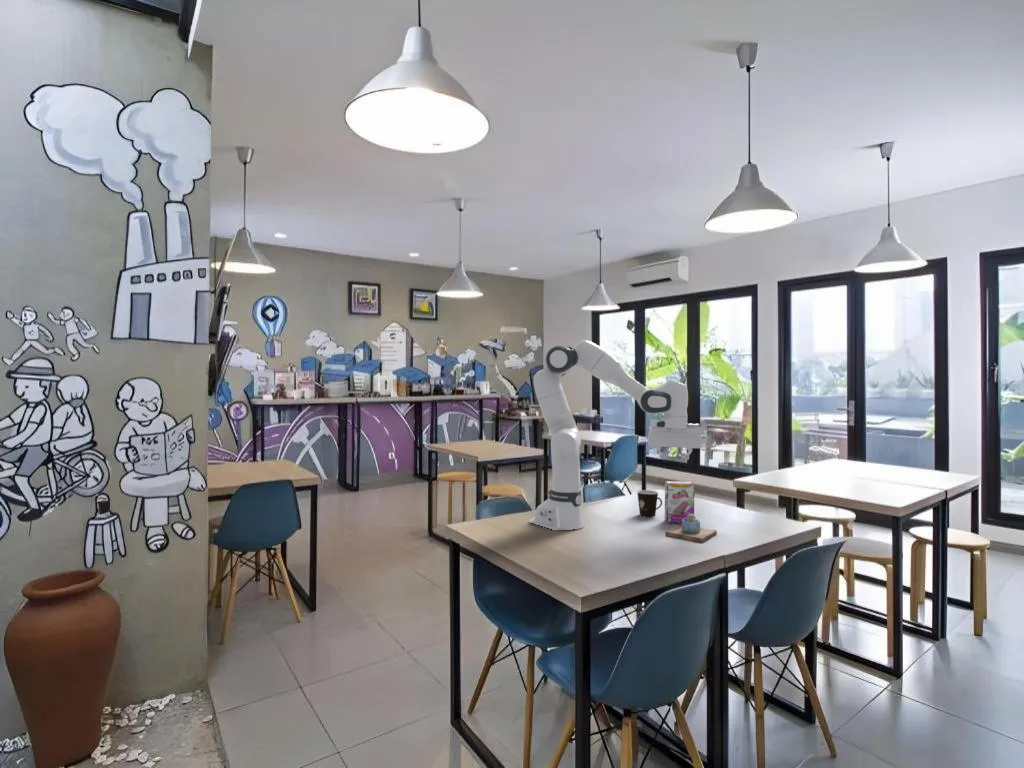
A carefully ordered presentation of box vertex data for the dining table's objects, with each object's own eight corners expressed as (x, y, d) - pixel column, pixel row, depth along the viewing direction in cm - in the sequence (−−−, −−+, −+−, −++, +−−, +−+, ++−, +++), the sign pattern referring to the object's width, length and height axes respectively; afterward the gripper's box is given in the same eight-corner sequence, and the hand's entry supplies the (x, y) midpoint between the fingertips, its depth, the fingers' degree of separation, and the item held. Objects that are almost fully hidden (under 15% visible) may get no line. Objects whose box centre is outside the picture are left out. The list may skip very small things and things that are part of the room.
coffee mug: (634, 513, 235) (634, 490, 235) (653, 512, 236) (653, 490, 236) (643, 519, 223) (643, 495, 223) (663, 519, 224) (663, 495, 224)
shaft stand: (665, 535, 201) (665, 514, 200) (680, 527, 211) (680, 507, 211) (702, 542, 191) (702, 520, 191) (716, 534, 202) (716, 513, 202)
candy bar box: (666, 523, 218) (666, 483, 218) (664, 520, 223) (664, 480, 223) (694, 524, 217) (694, 483, 217) (691, 521, 222) (692, 481, 222)
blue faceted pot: (684, 532, 199) (684, 522, 199) (681, 528, 205) (681, 518, 205) (701, 533, 198) (701, 522, 198) (697, 529, 204) (697, 518, 204)
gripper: (701, 423, 209) (699, 459, 209) (647, 421, 211) (646, 456, 211) (705, 425, 203) (703, 461, 203) (649, 422, 205) (648, 458, 205)
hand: (673, 458), depth 207 cm, fingers open, 8 cm apart
